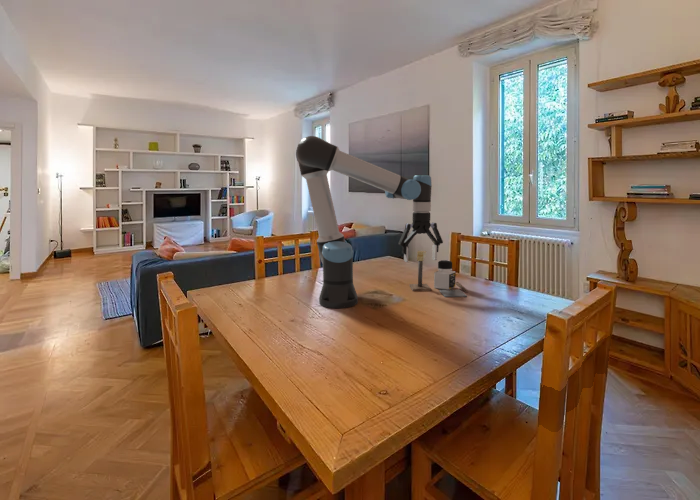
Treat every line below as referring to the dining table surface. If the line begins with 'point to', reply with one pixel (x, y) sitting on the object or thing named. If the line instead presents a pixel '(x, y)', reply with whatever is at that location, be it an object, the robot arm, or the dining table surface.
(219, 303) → the dining table surface
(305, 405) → the dining table surface
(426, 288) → the holder
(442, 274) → the medicine bottle
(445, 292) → the coaster
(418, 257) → the key
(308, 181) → the robot arm
